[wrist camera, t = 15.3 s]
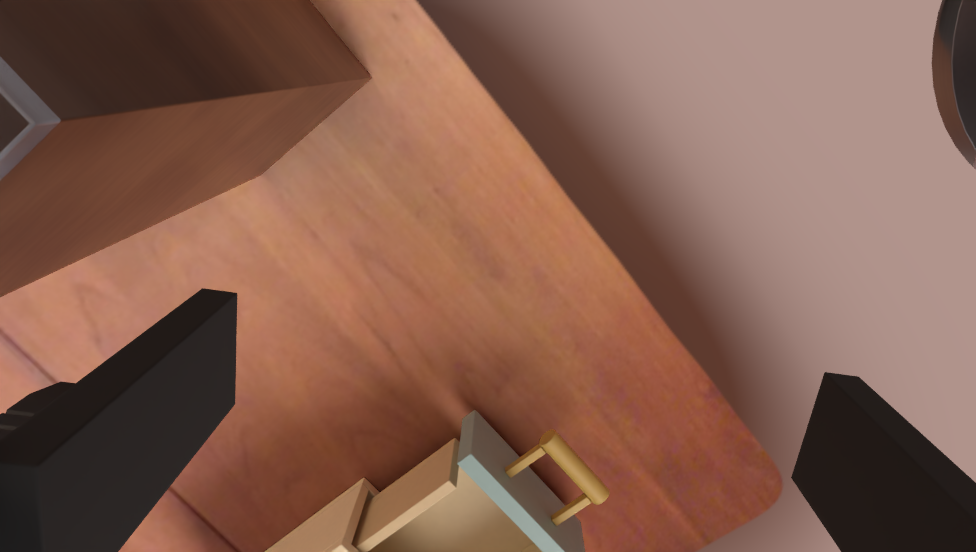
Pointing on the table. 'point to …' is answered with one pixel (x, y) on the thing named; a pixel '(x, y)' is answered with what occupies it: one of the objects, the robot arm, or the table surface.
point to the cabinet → (330, 524)
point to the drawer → (480, 499)
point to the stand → (147, 113)
